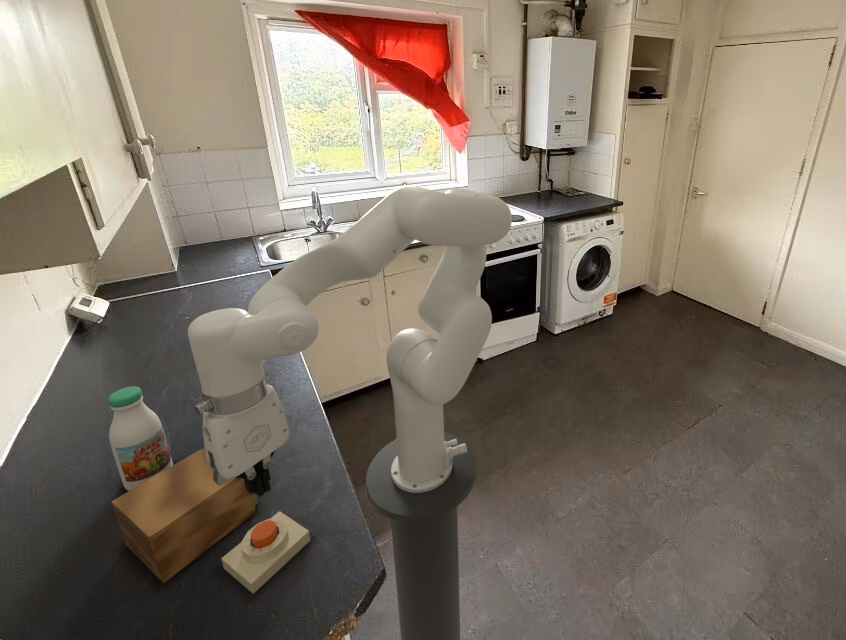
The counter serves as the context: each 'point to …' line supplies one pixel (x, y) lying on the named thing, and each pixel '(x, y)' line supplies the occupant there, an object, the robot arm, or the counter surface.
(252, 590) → the button box
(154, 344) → the counter surface
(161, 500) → the cabinet
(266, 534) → the button
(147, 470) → the milk bottle
